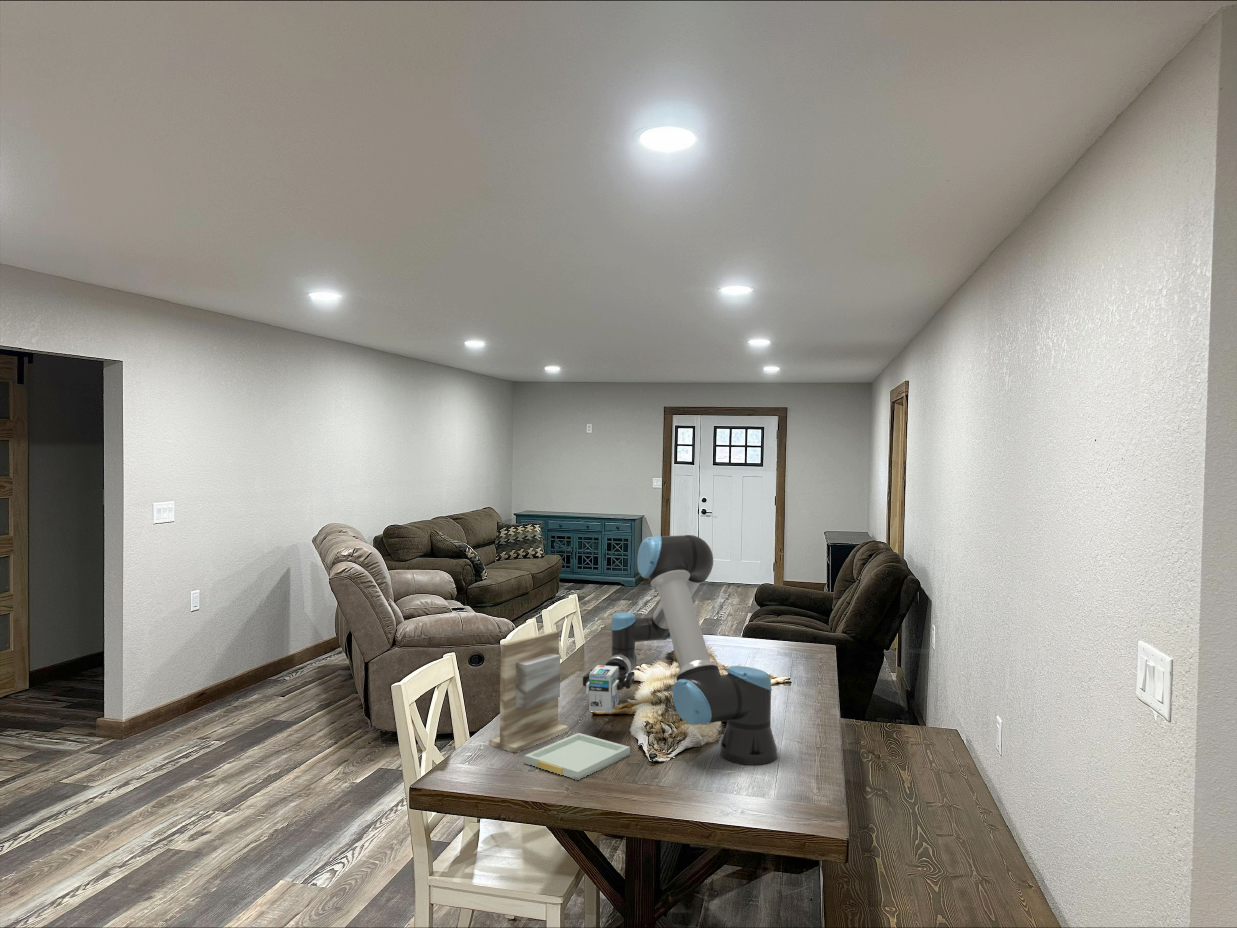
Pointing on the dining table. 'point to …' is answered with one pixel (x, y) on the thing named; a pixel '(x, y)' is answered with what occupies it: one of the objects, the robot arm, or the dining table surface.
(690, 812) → the dining table surface
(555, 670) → the wall unit
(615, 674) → the light bulb box
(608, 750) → the tray
